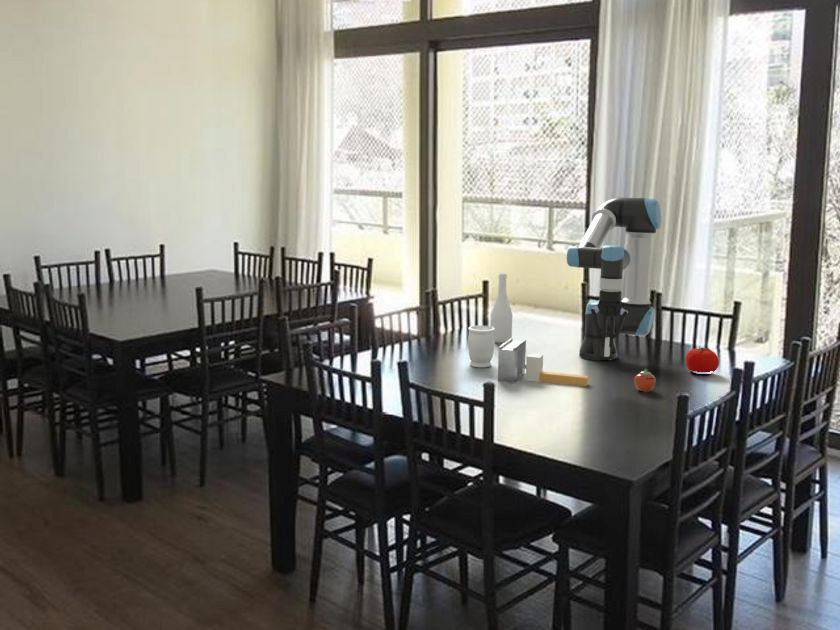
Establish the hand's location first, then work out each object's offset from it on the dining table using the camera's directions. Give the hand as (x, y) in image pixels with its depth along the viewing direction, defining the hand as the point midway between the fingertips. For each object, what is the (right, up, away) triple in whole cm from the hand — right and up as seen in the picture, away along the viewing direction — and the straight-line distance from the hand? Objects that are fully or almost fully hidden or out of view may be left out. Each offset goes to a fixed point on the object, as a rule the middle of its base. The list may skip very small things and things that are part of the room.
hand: (606, 355), depth 309 cm
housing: (-32, -8, +15) cm, 36 cm away
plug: (-17, -10, +9) cm, 22 cm away
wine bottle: (-31, +3, +75) cm, 81 cm away
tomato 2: (+13, -12, -2) cm, 18 cm away
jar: (-43, -5, +31) cm, 53 cm away
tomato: (+40, -8, +23) cm, 47 cm away
